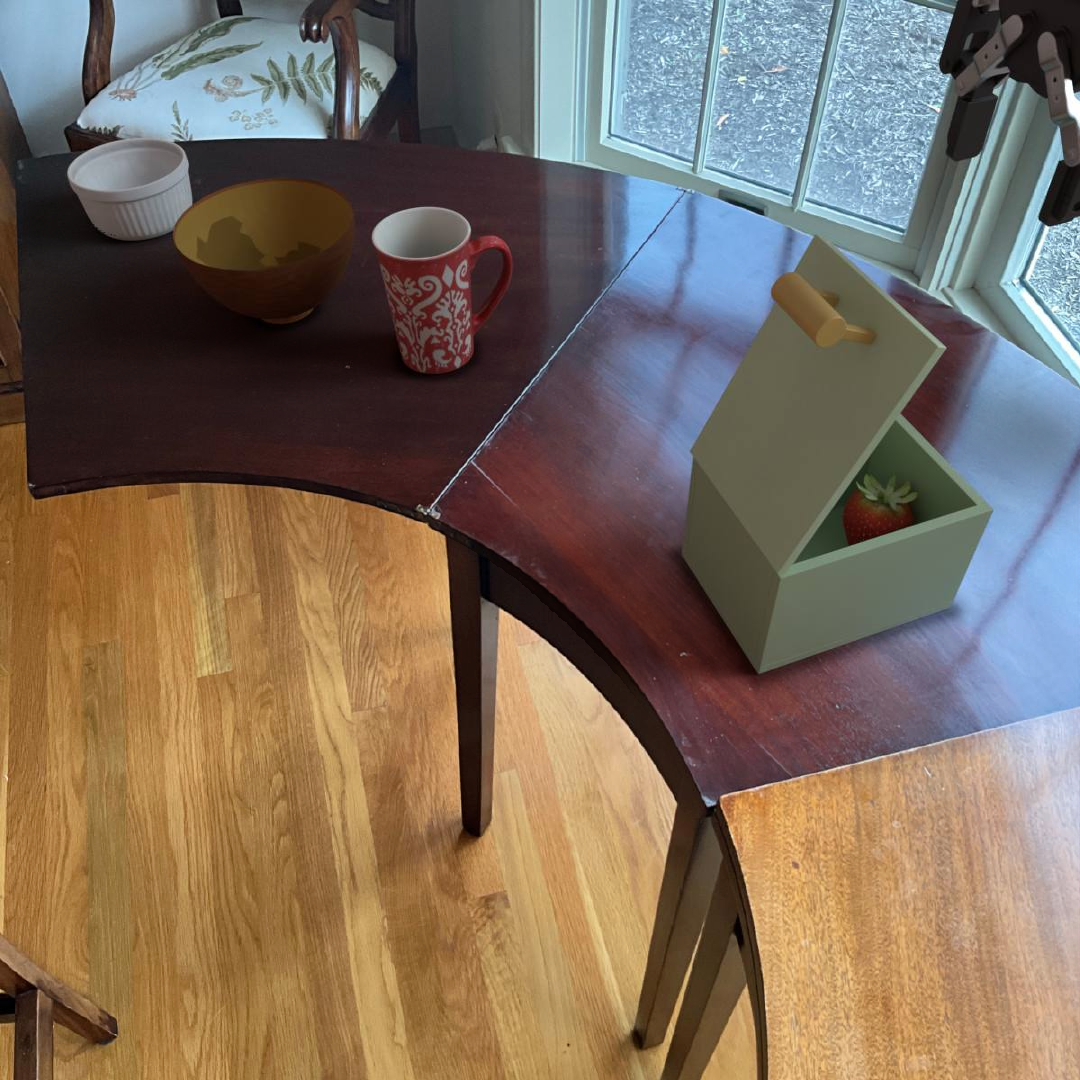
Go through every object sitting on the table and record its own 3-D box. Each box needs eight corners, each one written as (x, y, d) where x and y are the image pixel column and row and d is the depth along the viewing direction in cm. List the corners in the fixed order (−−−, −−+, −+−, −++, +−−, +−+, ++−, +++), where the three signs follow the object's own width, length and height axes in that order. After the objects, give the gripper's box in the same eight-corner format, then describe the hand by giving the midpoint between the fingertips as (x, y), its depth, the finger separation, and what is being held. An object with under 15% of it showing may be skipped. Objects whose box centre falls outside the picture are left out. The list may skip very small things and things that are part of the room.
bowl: (386, 334, 102) (371, 246, 95) (212, 374, 98) (183, 286, 91) (348, 248, 113) (332, 164, 106) (191, 282, 110) (163, 197, 102)
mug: (394, 387, 96) (374, 264, 86) (388, 332, 102) (368, 211, 92) (523, 370, 97) (518, 247, 88) (510, 317, 104) (503, 196, 94)
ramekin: (191, 181, 125) (174, 127, 120) (212, 231, 117) (195, 175, 112) (82, 206, 122) (60, 151, 117) (95, 258, 113) (73, 202, 108)
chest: (858, 499, 84) (888, 400, 76) (950, 608, 76) (994, 509, 68) (681, 554, 81) (692, 456, 73) (758, 674, 73) (780, 578, 65)
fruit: (903, 541, 80) (929, 469, 74) (893, 589, 77) (920, 517, 71) (839, 525, 81) (859, 452, 75) (826, 572, 78) (846, 499, 72)
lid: (824, 235, 63) (759, 218, 60) (947, 347, 54) (879, 334, 52) (697, 452, 73) (637, 446, 70) (786, 574, 65) (722, 573, 62)
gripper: (1299, -100, 44) (1144, 232, 56) (1074, -173, 53) (982, 126, 65) (1163, -76, 42) (1034, 261, 54) (955, -155, 51) (884, 148, 63)
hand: (1006, 187), depth 60 cm, fingers open, 8 cm apart
